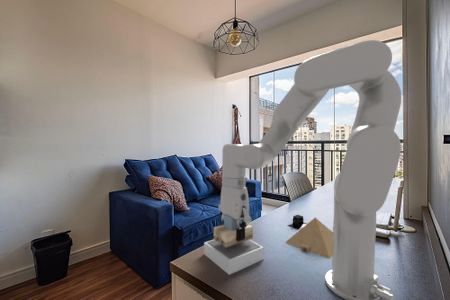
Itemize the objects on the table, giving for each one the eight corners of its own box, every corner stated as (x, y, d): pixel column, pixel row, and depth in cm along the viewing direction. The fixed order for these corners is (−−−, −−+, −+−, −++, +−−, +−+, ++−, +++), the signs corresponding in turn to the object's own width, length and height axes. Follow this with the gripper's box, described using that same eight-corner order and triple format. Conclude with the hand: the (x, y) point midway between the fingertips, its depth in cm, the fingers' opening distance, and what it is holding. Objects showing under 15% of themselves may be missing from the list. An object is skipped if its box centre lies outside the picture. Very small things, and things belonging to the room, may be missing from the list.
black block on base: (296, 232, 93) (296, 221, 93) (282, 226, 99) (282, 216, 99) (312, 225, 101) (312, 215, 101) (298, 220, 107) (298, 211, 106)
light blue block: (243, 227, 72) (243, 215, 72) (231, 230, 69) (231, 218, 69) (235, 223, 75) (235, 211, 75) (223, 226, 72) (223, 214, 72)
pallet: (252, 238, 73) (252, 226, 73) (226, 247, 67) (226, 234, 66) (239, 231, 79) (239, 220, 78) (213, 239, 72) (213, 227, 72)
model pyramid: (282, 244, 82) (283, 218, 82) (302, 230, 95) (302, 207, 95) (329, 261, 71) (330, 231, 71) (344, 242, 84) (345, 217, 83)
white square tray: (263, 259, 71) (263, 246, 71) (229, 274, 63) (229, 260, 63) (236, 242, 83) (236, 231, 82) (204, 254, 74) (204, 241, 74)
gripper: (261, 185, 67) (260, 242, 68) (227, 176, 81) (226, 224, 82) (242, 188, 62) (241, 250, 63) (209, 179, 76) (209, 229, 77)
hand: (233, 235), depth 72 cm, fingers closed on pallet, 6 cm apart
